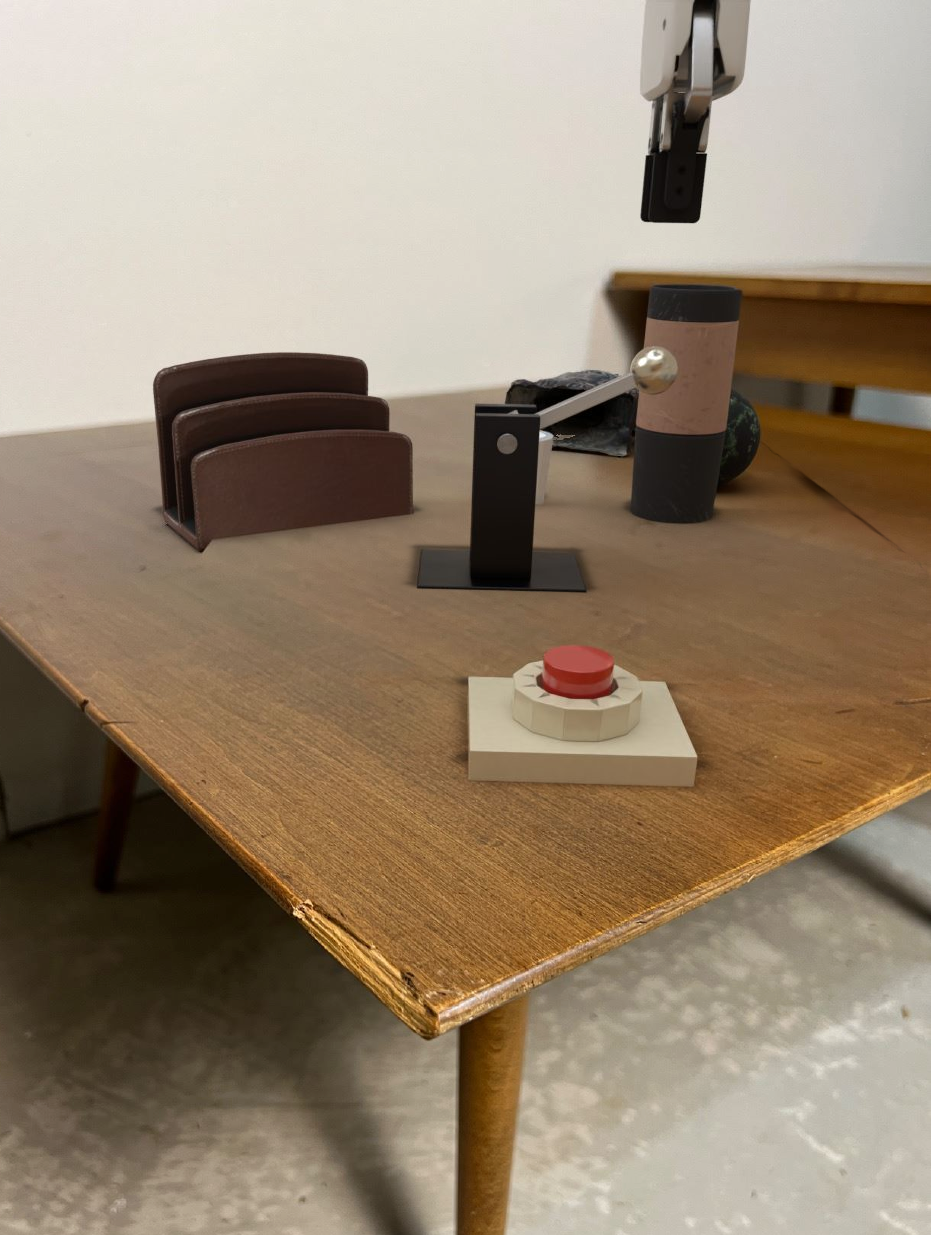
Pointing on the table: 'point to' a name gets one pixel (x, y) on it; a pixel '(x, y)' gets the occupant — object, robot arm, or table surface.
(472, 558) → the bracket
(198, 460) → the letter holder
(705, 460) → the travel mug
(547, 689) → the button
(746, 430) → the decorative stone
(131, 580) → the table surface
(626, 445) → the sculpture
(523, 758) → the button block
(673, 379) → the lever
